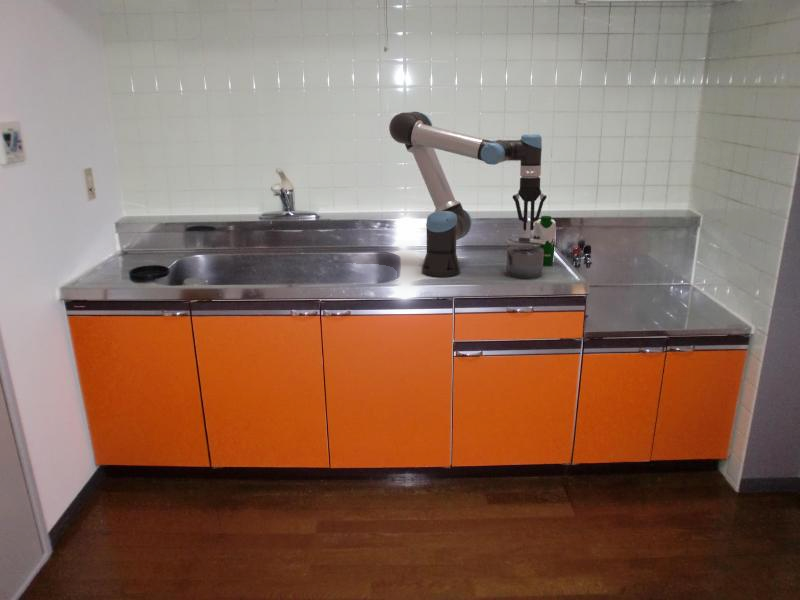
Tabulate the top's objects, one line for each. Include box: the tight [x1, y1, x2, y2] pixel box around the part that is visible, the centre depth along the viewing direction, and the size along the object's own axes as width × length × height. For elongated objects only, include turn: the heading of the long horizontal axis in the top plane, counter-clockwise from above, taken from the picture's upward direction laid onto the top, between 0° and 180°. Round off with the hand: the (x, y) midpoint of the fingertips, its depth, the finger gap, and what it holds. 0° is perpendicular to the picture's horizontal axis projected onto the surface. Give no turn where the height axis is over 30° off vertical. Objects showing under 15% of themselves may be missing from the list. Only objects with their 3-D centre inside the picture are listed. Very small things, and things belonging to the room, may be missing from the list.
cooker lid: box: [506, 236, 545, 246], centre depth 236 cm, size 15×16×3 cm
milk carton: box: [532, 215, 557, 266], centre depth 253 cm, size 9×9×20 cm
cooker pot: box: [505, 244, 544, 280], centre depth 240 cm, size 14×15×10 cm
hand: (528, 238), depth 238 cm, fingers closed
